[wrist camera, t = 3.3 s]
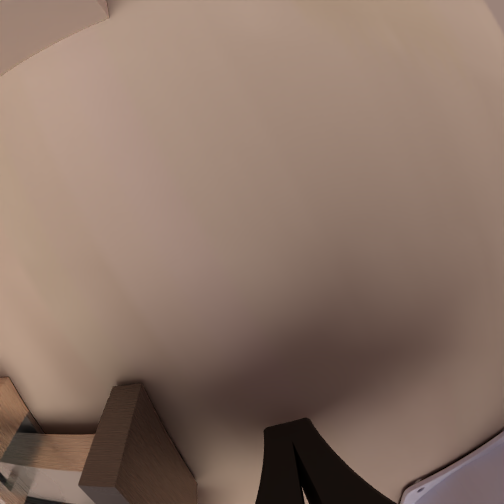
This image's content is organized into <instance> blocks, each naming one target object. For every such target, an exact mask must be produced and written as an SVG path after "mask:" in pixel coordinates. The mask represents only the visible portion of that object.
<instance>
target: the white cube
mask: <svg viewBox="0 0 504 504" xmlns="http://www.w3.org/2000/svg"><path fill="white" fill-rule="evenodd" d="M106 19H109V13H108V7H107V2H106V0H0V76H2V75H3V74H5V73H6V72H8V71H9V70H11V69H12V68H14V67H15V66H17V65H18V64H20V63H22V62H23V61H25V60H27V59H28V58H30V57H32V56H33V55H35V54H37V53H38V52H40V51H42V50H44V49H46V48H47V47H49V46H51V45H53V44H55V43H57V42H59V41H61V40H62V39H64V38H66V37H68V36H70V35H73V34H75V33H77V32H79V31H81V30H83V29H85V28H87V27H90V26H92V25H94V24H97V23H99V22H101V21H104V20H106Z"/></svg>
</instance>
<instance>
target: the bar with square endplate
mask: <svg viewBox="0 0 504 504" xmlns="http://www.w3.org/2000/svg"><path fill="white" fill-rule="evenodd" d="M0 473H1V474H2V475H3V476H4V477H5V478H6V479H7V481H6V483H5V485H4V484H3V483H2V482H1V481H0V504H24V502H25V500H26V497H27V496H30V497H35V498H40V499H46V500H51V501H58V502H64V503H72V504H197V482H196V481H195V479H194V478H193V476H192V474H191V473H190V471H189V470H188V468H187V466H186V465H185V463H184V461H183V460H182V458H181V456H180V455H179V453H178V451H177V450H176V448H175V446H174V444H173V443H172V441H171V439H170V437H169V435H168V434H167V432H166V430H165V428H164V426H163V424H162V423H161V421H160V419H159V417H158V415H157V413H156V411H155V409H154V407H153V405H152V403H151V401H150V399H149V397H148V395H147V393H146V391H145V389H144V387H143V385H142V383H137V384H130V385H122V386H113V388H112V391H111V393H110V396H109V398H108V401H107V403H106V406H105V409H104V411H103V414H102V417H101V419H100V422H99V425H98V427H97V430H96V433H95V434H87V435H57V434H31V433H17V432H16V433H15V435H14V437H13V438H12V440H11V442H10V444H9V445H8V447H7V449H6V451H5V452H4V454H3V456H2V458H1V460H0Z"/></svg>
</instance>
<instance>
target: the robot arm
mask: <svg viewBox="0 0 504 504" xmlns="http://www.w3.org/2000/svg"><path fill="white" fill-rule="evenodd" d="M302 488H303V490H304V493H305V495H306V498H307V500H308V502H309V504H396V503H395V502H393V501H392V500H390V499H389V498H387V497H386V496H384V495H383V494H381V493H380V492H379V491H377V490H376V489H375V488H373V487H372V486H371V485H370V484H368V483H367V482H366V481H365V480H364V479H362V478H361V477H360V476H359V475H358V474H357V473H355V472H354V471H353V470H352V469H351V468H350V467H349V466H348V465H347V464H346V463H345V462H344V461H343V460H342V459H341V458H340V457H339V456H338V455H337V454H336V453H335V452H334V451H333V450H332V448H331V447H330V446H329V445H328V444H327V443H326V441H325V440H324V439H323V438H322V436H321V435H320V434H319V433H318V431H317V430H316V428H315V427H314V425H313V424H312V422H311V420H310V419H308V418H303V419H299V420H295V421H292V422H288V423H284V424H280V425H275V426H271V427H267V428H266V429H265V430H264V458H263V467H262V473H261V480H260V486H259V490H258V495H257V499H256V503H255V504H305V502H304V496H303V491H302ZM400 504H504V431H503V432H502V433H500V434H499V435H497V436H496V437H495V438H493V439H492V440H490V441H489V442H487V443H486V444H484V445H483V446H481V447H480V448H478V449H477V450H475V451H474V452H472V453H470V454H469V455H467V456H466V457H464V458H462V459H461V460H459V461H457V462H455V463H454V464H452V465H450V466H449V467H447V468H445V469H443V470H441V471H439V472H438V473H436V474H434V475H432V476H430V477H428V478H426V479H424V480H422V481H420V482H418V483H416V484H414V485H412V486H410V487H408V488H407V489H406V490H405V491H404V493H403V496H402V499H401V502H400Z"/></svg>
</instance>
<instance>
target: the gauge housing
mask: <svg viewBox="0 0 504 504" xmlns="http://www.w3.org/2000/svg"><path fill="white" fill-rule="evenodd" d="M16 432H17V433H31V434H44V432H43V431H42V429H41V428H40V427H39V425H38V424H37V422H36V421H35V419H34V418H33V416H32V415H31V413H30V412H29V410H28V409H27V407H26V406H25V404H24V402H23V401H22V399H21V398H20V396H19V394H18V393H17V391H16V389H15V388H14V386H13V384H12V382H11V381H10V379H9V377H6V378H0V460H1V458H2V456H3V454H4V452H5V451H6V449H7V447H8V445H9V444H10V442H11V440H12V438H13V437H14V435H15V433H16ZM0 481H1V482H2V483H3V484H4V485H5V483H6V481H7V479H6V478H5V477H4V476H3V475H2V474H1V473H0ZM24 504H72V503H64V502H58V501H51V500H46V499H40V498H35V497H30V496H27V497H26V500H25V502H24Z"/></svg>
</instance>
